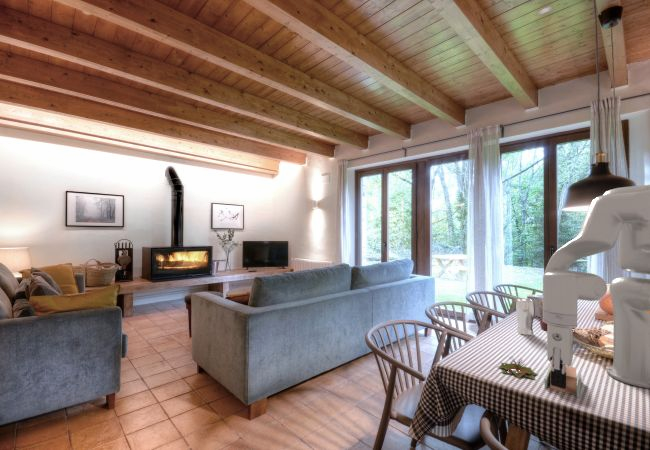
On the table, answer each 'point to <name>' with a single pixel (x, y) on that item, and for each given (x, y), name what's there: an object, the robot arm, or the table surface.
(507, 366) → the green twiggy clump
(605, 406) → the table surface
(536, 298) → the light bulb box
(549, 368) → the pair of grey-green bars
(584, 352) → the table surface
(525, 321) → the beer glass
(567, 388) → the terracotta block
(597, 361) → the table surface
